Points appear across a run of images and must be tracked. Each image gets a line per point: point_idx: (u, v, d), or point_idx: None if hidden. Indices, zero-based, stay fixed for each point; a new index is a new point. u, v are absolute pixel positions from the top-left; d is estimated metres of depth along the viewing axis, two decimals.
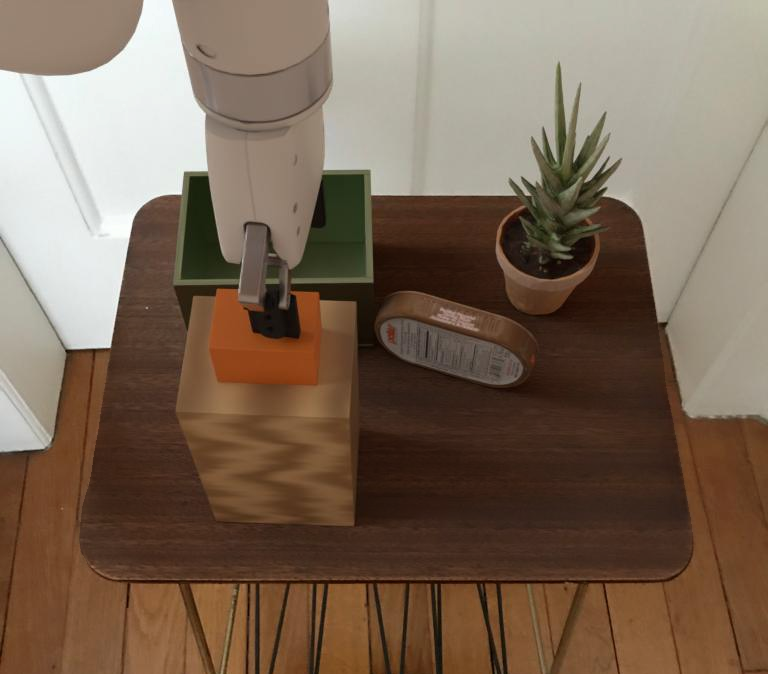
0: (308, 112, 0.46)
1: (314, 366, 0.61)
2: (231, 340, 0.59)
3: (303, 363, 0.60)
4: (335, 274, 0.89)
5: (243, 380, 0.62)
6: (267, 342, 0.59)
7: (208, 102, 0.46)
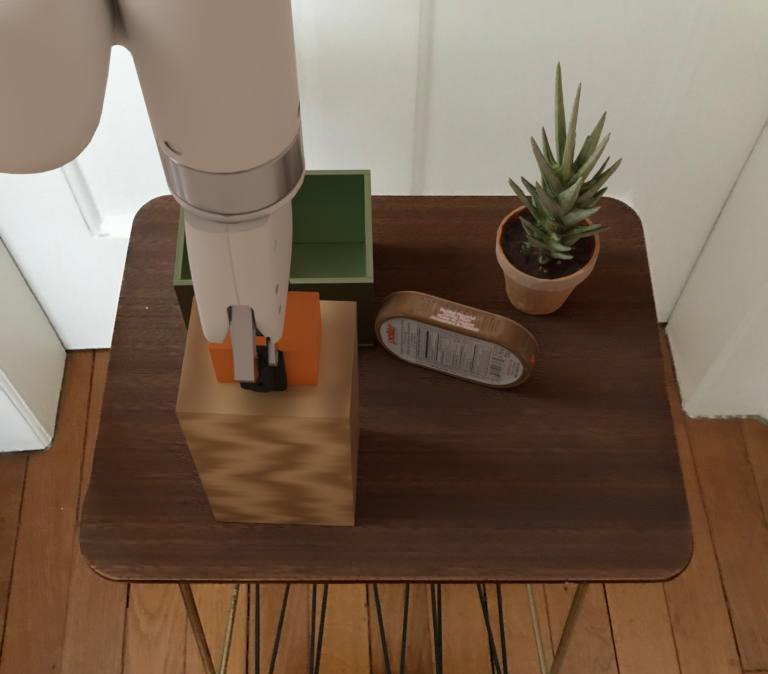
0: (286, 199, 0.47)
1: (314, 366, 0.61)
2: None
3: (303, 363, 0.60)
4: (335, 274, 0.89)
5: None
6: None
7: (187, 198, 0.46)
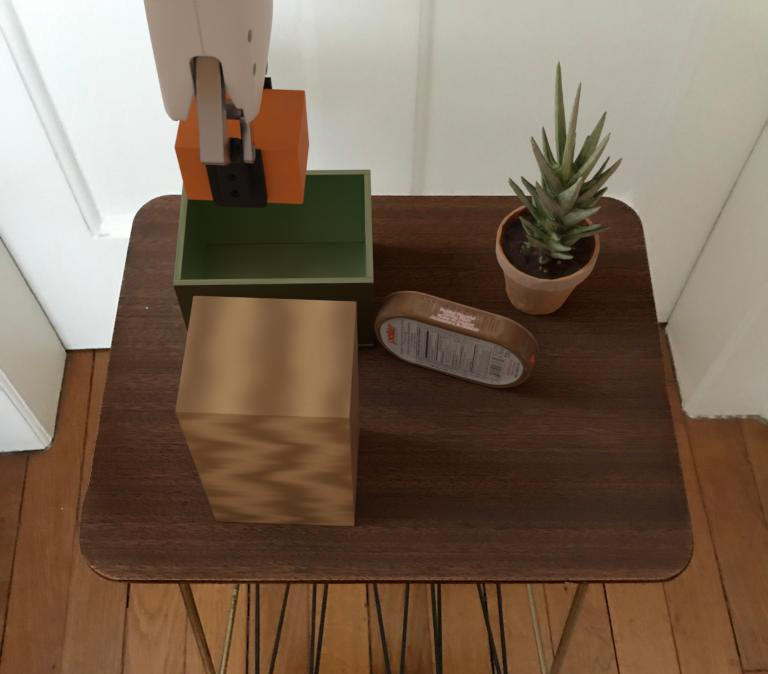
0: None
1: (298, 174, 0.52)
2: None
3: (286, 169, 0.52)
4: (335, 274, 0.89)
5: None
6: None
7: None
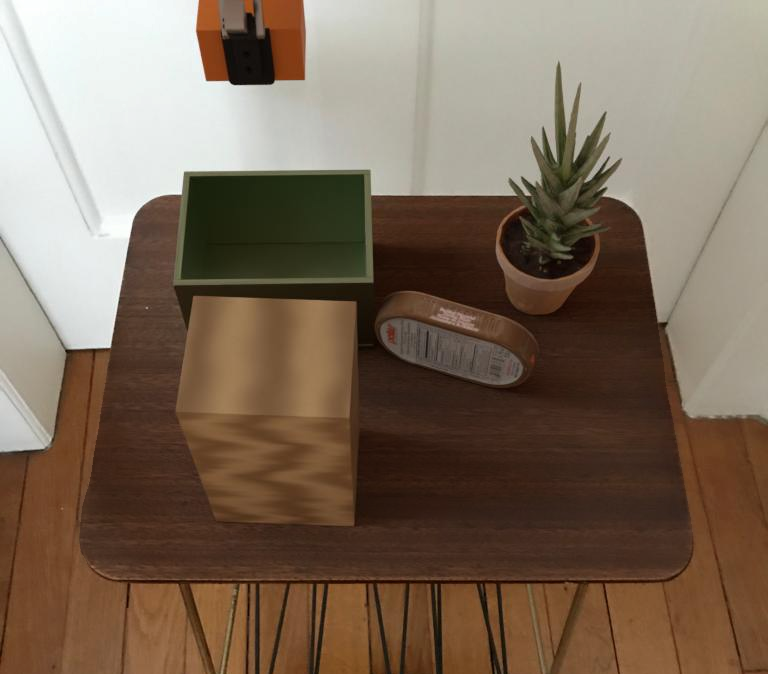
0: None
1: (301, 50, 0.61)
2: (218, 22, 0.60)
3: (290, 46, 0.61)
4: (335, 274, 0.89)
5: None
6: None
7: None
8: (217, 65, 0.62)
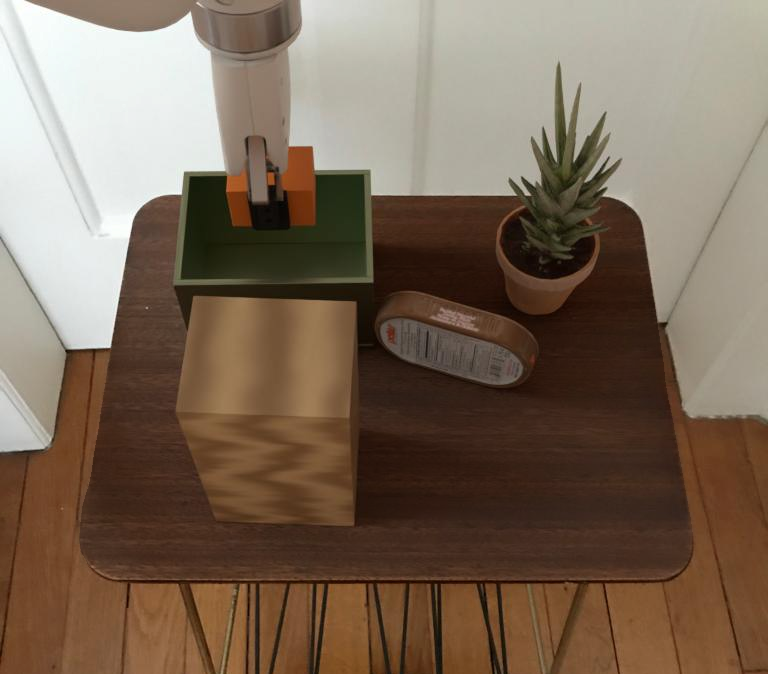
0: (289, 41, 0.61)
1: (312, 205, 0.75)
2: (244, 184, 0.73)
3: (304, 202, 0.74)
4: (335, 274, 0.89)
5: None
6: (274, 184, 0.73)
7: (213, 41, 0.60)
8: (243, 215, 0.75)
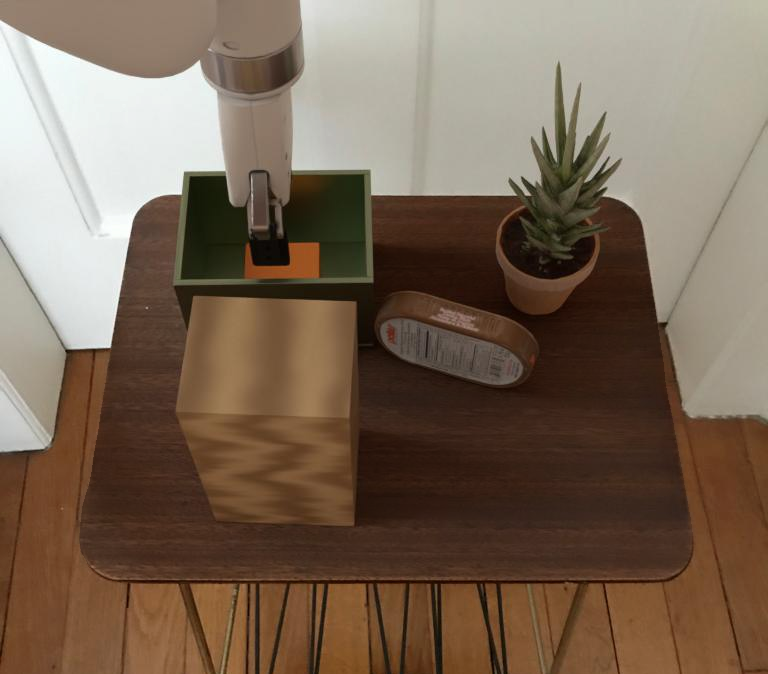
0: (292, 82, 0.64)
1: None
2: (259, 278, 0.84)
3: None
4: (335, 274, 0.89)
5: None
6: None
7: (220, 82, 0.63)
8: None
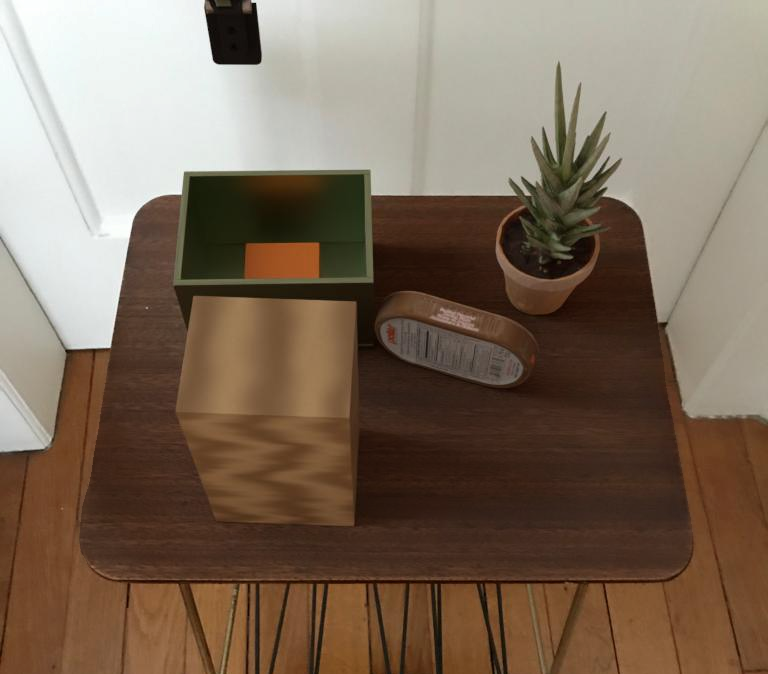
0: None
1: None
2: (259, 278, 0.84)
3: None
4: (335, 274, 0.89)
5: None
6: None
7: None
8: None
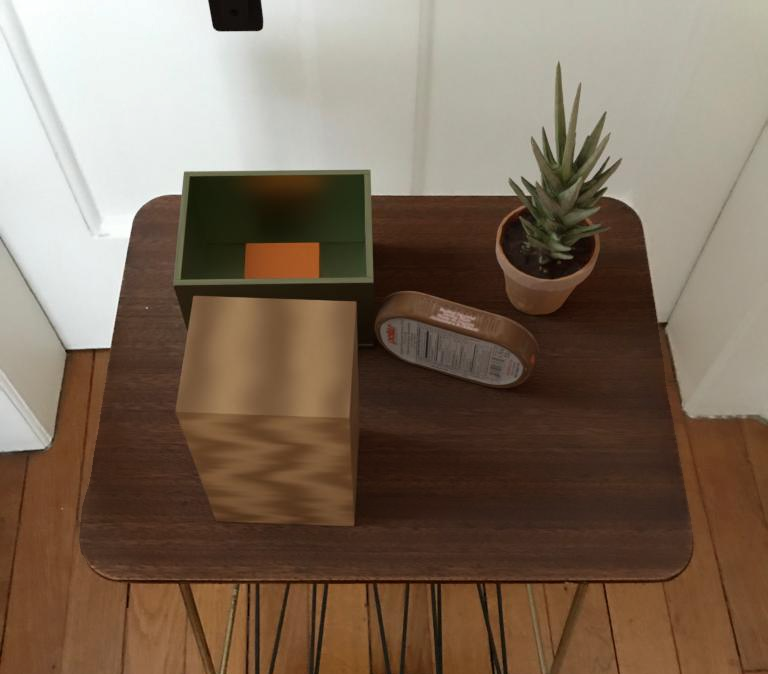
0: None
1: None
2: (259, 278, 0.84)
3: None
4: (335, 274, 0.89)
5: None
6: None
7: None
8: None
